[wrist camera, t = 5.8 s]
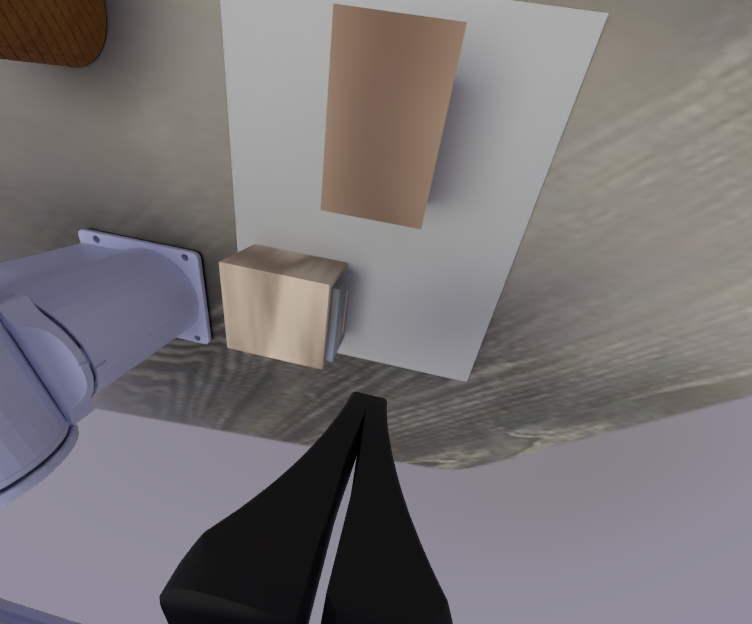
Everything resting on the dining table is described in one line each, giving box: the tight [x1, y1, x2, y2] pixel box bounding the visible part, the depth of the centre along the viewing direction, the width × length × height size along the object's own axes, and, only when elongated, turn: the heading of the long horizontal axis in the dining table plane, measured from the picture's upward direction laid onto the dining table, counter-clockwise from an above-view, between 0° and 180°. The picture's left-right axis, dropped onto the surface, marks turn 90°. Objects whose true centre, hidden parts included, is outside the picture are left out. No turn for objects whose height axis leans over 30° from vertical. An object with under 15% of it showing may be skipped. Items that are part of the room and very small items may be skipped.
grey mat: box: [220, 0, 609, 382], centre depth 19 cm, size 18×21×1 cm
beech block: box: [219, 244, 352, 369], centre depth 20 cm, size 4×6×7 cm
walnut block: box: [321, 4, 467, 229], centre depth 13 cm, size 4×6×7 cm, turn 171°
